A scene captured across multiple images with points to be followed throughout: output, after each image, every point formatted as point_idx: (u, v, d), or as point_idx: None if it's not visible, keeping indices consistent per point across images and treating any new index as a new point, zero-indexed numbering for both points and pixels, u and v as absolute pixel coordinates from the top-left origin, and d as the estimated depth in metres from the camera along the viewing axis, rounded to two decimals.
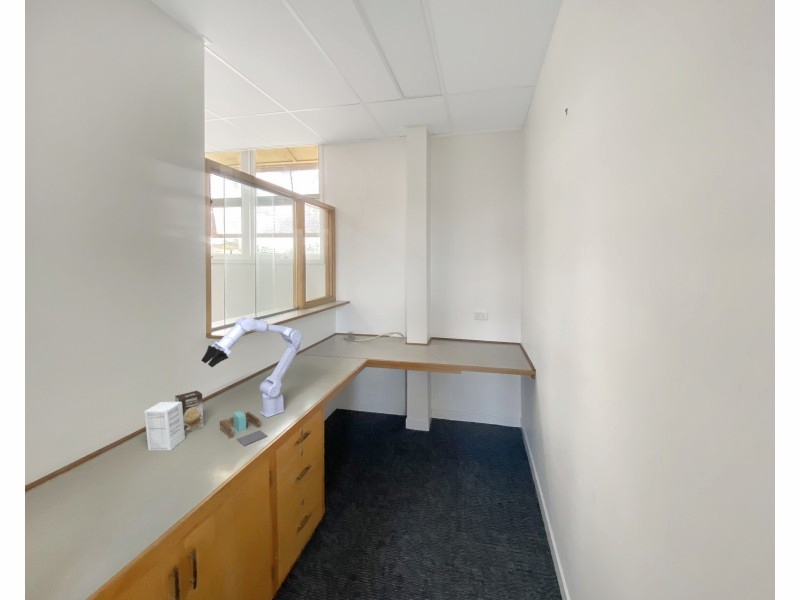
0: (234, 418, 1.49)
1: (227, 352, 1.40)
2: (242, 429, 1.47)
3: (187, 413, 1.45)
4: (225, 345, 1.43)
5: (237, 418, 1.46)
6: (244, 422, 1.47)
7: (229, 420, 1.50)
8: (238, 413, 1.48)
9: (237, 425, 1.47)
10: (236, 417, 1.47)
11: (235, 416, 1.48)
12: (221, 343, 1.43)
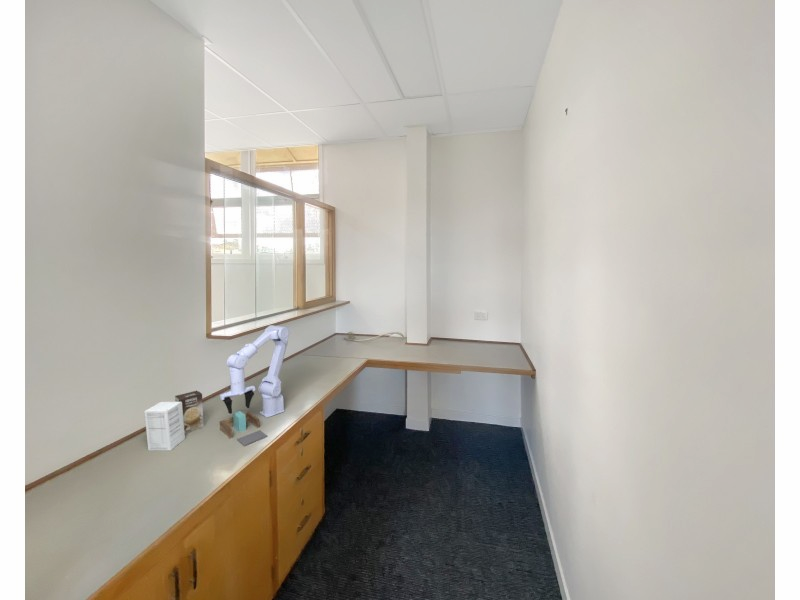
0: (234, 418, 1.49)
1: None
2: (242, 429, 1.47)
3: (187, 413, 1.45)
4: (244, 387, 1.48)
5: (237, 418, 1.46)
6: (244, 422, 1.47)
7: (229, 420, 1.50)
8: (238, 413, 1.48)
9: (237, 425, 1.47)
10: (236, 417, 1.47)
11: (235, 417, 1.47)
12: (243, 389, 1.47)
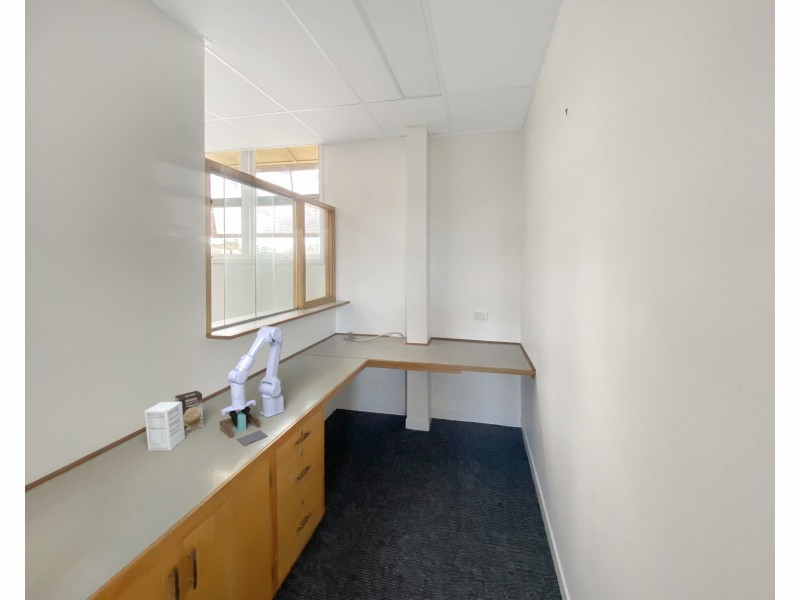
0: None
1: None
2: (242, 429, 1.47)
3: (187, 413, 1.45)
4: (245, 402, 1.49)
5: (237, 418, 1.46)
6: (244, 422, 1.47)
7: (229, 420, 1.50)
8: (238, 413, 1.48)
9: (237, 425, 1.47)
10: None
11: None
12: (244, 404, 1.48)
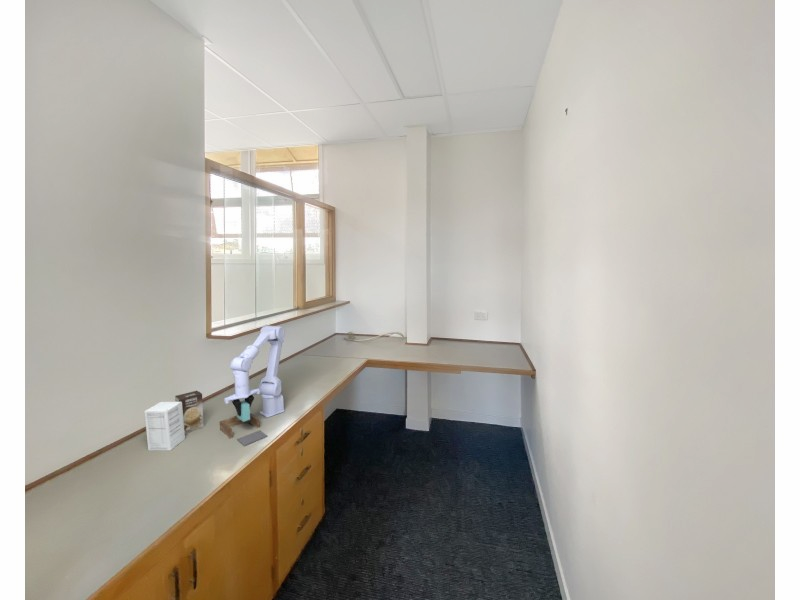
0: None
1: None
2: (246, 419, 1.43)
3: (187, 413, 1.45)
4: (249, 390, 1.46)
5: (241, 407, 1.42)
6: (248, 411, 1.44)
7: (229, 420, 1.50)
8: (242, 403, 1.45)
9: (241, 414, 1.43)
10: None
11: None
12: (248, 392, 1.44)
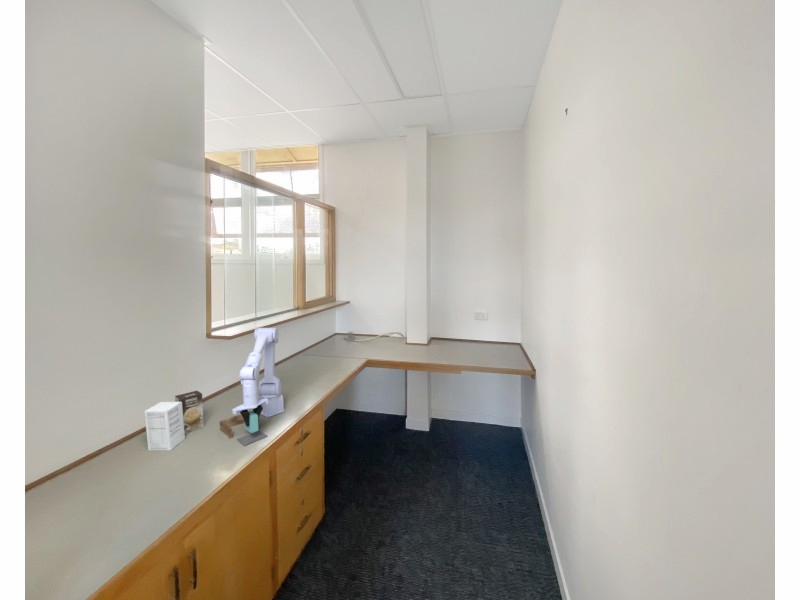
0: None
1: None
2: (254, 430, 1.39)
3: (187, 413, 1.45)
4: (257, 400, 1.41)
5: (249, 418, 1.37)
6: (256, 422, 1.39)
7: (229, 420, 1.50)
8: (250, 413, 1.40)
9: (249, 426, 1.38)
10: None
11: None
12: (257, 402, 1.39)
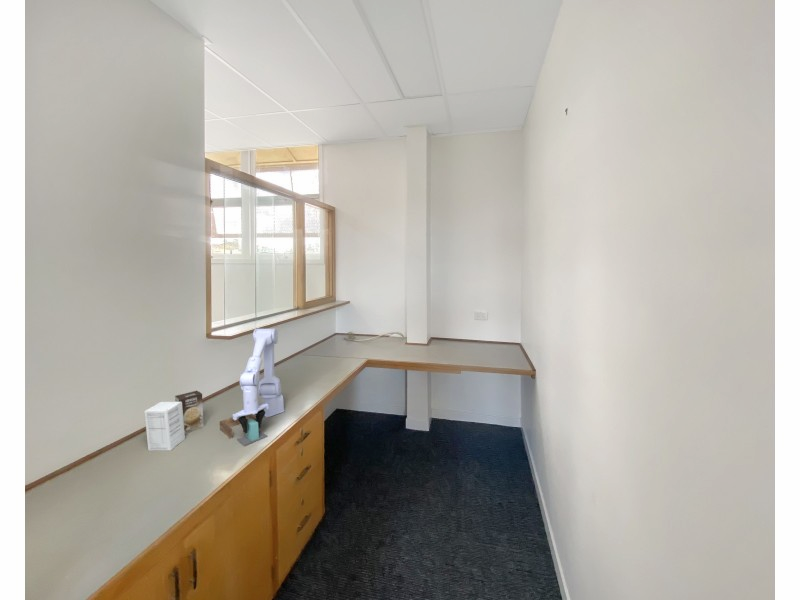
0: None
1: None
2: (255, 438, 1.39)
3: (187, 413, 1.45)
4: (258, 405, 1.41)
5: (250, 426, 1.38)
6: (257, 430, 1.39)
7: (229, 420, 1.50)
8: (250, 421, 1.40)
9: (249, 433, 1.39)
10: (248, 425, 1.39)
11: (247, 424, 1.39)
12: (257, 408, 1.39)
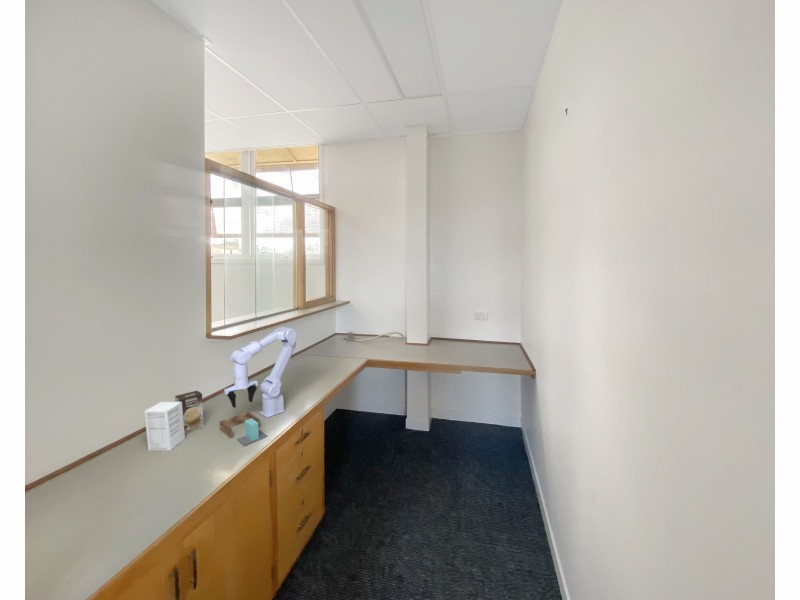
0: (246, 426, 1.41)
1: None
2: (255, 438, 1.39)
3: (187, 413, 1.45)
4: (248, 382, 1.53)
5: (250, 426, 1.38)
6: (257, 430, 1.39)
7: (229, 420, 1.50)
8: (250, 421, 1.40)
9: (249, 433, 1.39)
10: (248, 425, 1.39)
11: (247, 424, 1.39)
12: (247, 384, 1.52)
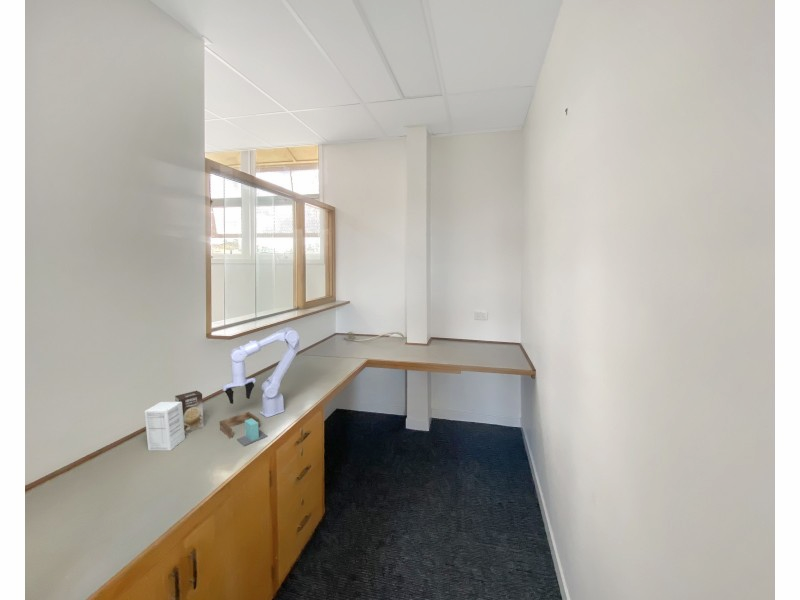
0: (246, 426, 1.41)
1: None
2: (255, 438, 1.39)
3: (187, 413, 1.45)
4: (245, 379, 1.57)
5: (250, 426, 1.38)
6: (257, 430, 1.39)
7: (229, 420, 1.50)
8: (250, 421, 1.40)
9: (249, 433, 1.39)
10: (248, 425, 1.39)
11: (247, 424, 1.39)
12: (244, 381, 1.55)
